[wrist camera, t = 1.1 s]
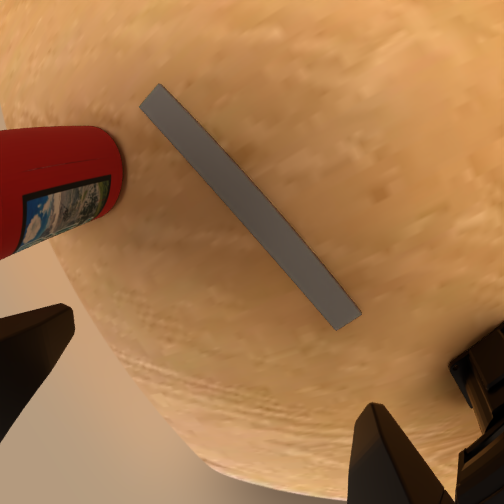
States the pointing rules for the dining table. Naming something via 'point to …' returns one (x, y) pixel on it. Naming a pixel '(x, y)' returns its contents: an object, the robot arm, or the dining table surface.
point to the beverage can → (54, 182)
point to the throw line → (250, 207)
